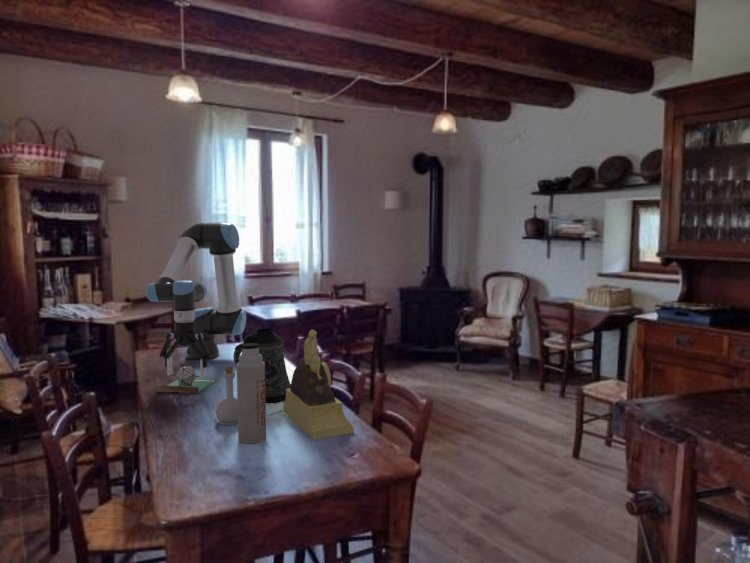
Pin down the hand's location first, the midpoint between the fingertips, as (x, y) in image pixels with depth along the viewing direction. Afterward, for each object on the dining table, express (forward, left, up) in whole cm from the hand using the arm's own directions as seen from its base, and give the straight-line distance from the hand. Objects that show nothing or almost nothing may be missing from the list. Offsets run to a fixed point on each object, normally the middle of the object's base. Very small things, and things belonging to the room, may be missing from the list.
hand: (186, 375), depth 215 cm
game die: (0, 0, -4) cm, 4 cm away
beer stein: (+10, +35, -5) cm, 37 cm away
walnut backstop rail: (+7, 0, -5) cm, 9 cm away
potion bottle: (+35, +32, -5) cm, 47 cm away
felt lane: (-2, 0, -5) cm, 5 cm away
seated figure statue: (+31, +59, -5) cm, 67 cm away
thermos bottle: (+48, +44, -5) cm, 65 cm away
